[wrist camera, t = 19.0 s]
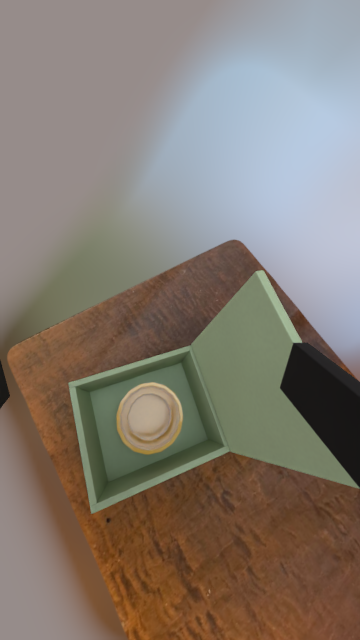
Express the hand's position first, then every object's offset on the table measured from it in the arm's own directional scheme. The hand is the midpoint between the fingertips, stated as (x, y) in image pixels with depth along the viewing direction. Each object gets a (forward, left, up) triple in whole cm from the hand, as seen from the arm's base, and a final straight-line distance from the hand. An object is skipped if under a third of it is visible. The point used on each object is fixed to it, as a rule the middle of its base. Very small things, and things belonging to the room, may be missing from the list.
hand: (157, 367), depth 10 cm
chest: (+1, -2, -33) cm, 33 cm away
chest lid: (+9, +3, -13) cm, 16 cm away
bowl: (+1, -2, -32) cm, 33 cm away
